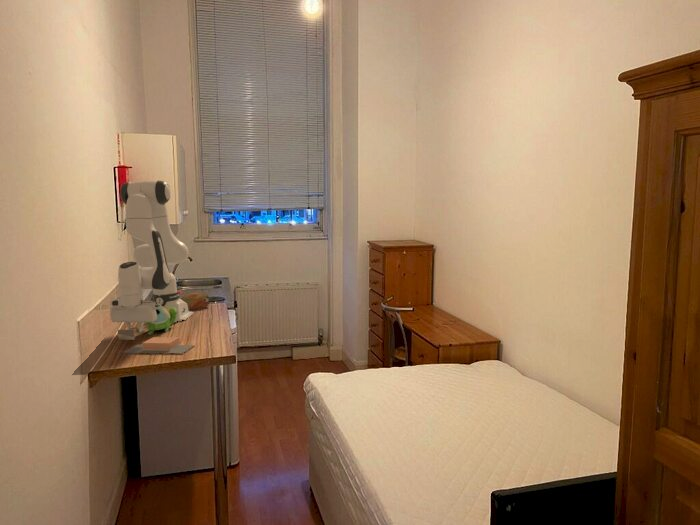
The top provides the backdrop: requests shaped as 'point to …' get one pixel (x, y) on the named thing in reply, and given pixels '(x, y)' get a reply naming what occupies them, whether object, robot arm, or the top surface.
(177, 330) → the top surface
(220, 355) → the top surface
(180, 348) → the mat
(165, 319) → the turtle holder
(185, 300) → the brown rounded slab
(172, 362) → the top surface
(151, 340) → the tile
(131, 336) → the scraper
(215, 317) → the top surface
